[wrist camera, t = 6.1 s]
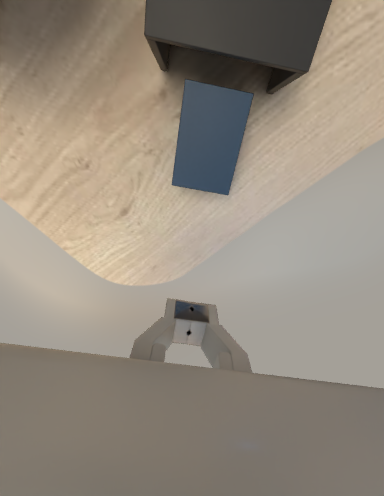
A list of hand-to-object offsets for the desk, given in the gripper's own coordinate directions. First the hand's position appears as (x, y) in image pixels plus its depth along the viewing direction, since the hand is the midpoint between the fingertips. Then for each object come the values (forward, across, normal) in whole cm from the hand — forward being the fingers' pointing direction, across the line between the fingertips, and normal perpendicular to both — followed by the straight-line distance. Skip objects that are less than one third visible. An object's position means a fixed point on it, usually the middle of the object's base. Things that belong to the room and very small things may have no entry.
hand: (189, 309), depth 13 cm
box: (+19, 0, -9) cm, 21 cm away
